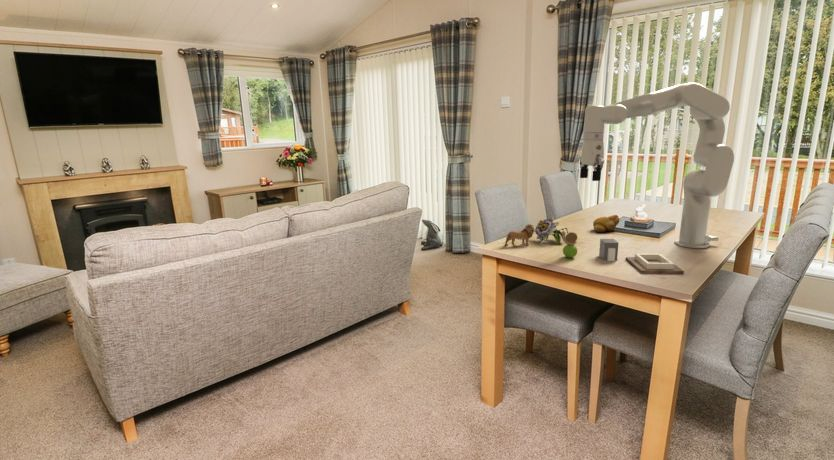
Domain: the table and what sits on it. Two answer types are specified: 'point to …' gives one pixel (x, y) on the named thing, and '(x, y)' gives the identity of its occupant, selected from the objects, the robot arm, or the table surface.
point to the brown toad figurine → (606, 223)
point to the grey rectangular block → (608, 249)
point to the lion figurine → (520, 235)
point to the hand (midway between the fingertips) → (589, 179)
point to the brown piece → (653, 264)
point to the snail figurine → (569, 244)
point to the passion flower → (548, 230)
